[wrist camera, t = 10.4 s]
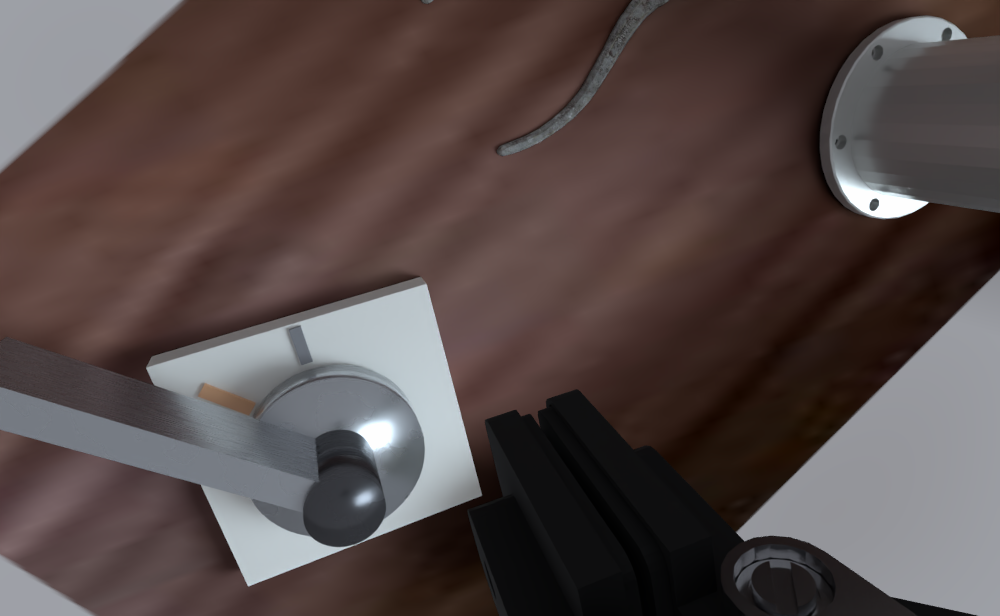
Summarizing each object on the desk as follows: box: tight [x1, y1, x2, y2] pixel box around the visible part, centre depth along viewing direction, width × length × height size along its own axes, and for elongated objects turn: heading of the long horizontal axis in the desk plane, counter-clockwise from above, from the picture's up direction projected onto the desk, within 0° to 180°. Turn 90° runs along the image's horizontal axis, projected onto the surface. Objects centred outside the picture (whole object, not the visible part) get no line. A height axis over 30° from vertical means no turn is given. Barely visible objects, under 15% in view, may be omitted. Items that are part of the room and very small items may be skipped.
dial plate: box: [146, 277, 482, 586], centre depth 34 cm, size 14×14×2 cm
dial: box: [0, 337, 425, 547], centre depth 28 cm, size 20×9×6 cm, turn 59°
